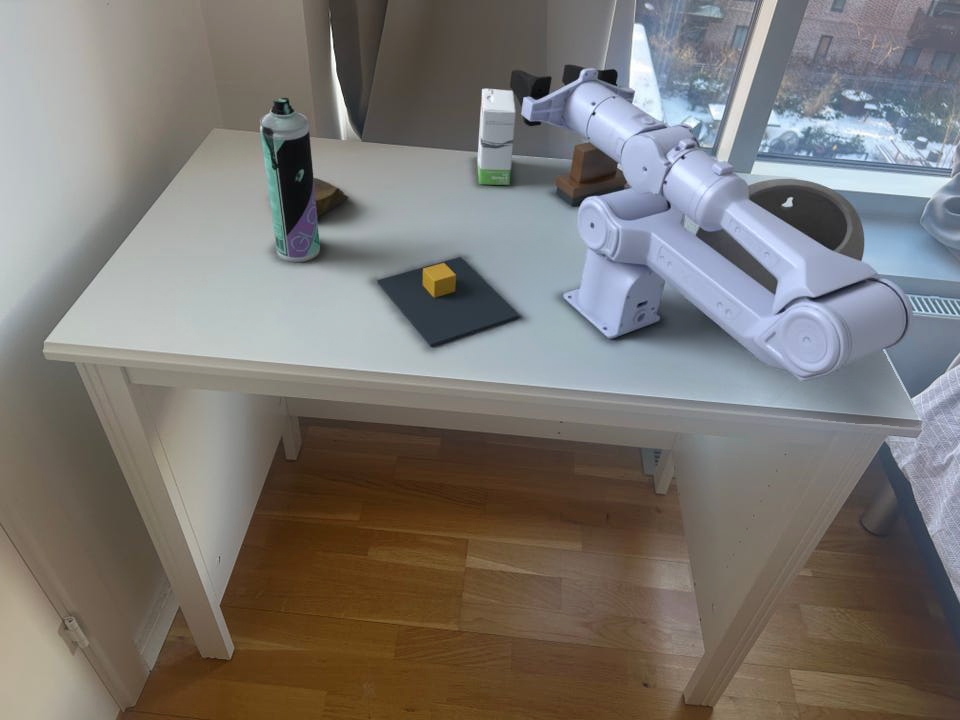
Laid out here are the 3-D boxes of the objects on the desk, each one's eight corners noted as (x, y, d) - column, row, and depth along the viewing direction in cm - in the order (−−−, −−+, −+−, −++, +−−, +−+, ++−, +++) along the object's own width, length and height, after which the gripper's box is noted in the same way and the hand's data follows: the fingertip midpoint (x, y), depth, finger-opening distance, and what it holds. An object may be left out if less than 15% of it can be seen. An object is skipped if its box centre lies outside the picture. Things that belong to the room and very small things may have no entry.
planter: (673, 324, 90) (715, 182, 77) (674, 291, 95) (713, 154, 83) (831, 351, 87) (900, 210, 75) (823, 316, 93) (886, 179, 80)
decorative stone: (262, 197, 106) (259, 175, 104) (318, 179, 111) (316, 157, 109) (301, 228, 101) (298, 205, 98) (358, 208, 106) (357, 185, 103)
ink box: (510, 186, 113) (517, 111, 106) (477, 185, 113) (482, 109, 105) (507, 161, 120) (513, 88, 112) (476, 159, 120) (481, 87, 112)
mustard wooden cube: (455, 291, 91) (456, 274, 89) (434, 298, 90) (434, 281, 88) (443, 279, 93) (444, 262, 91) (422, 285, 92) (422, 268, 90)
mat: (519, 317, 89) (519, 314, 88) (430, 347, 83) (430, 344, 83) (460, 259, 97) (460, 256, 97) (377, 282, 92) (377, 280, 92)
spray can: (310, 265, 94) (295, 112, 81) (270, 258, 95) (247, 105, 82) (326, 243, 98) (313, 94, 85) (286, 236, 99) (268, 87, 86)
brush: (607, 180, 117) (616, 132, 112) (625, 192, 114) (635, 143, 109) (553, 194, 112) (560, 144, 107) (571, 207, 110) (579, 156, 104)
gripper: (667, 79, 82) (594, 37, 90) (560, 92, 75) (492, 45, 84) (650, 139, 86) (582, 94, 95) (549, 156, 80) (485, 106, 88)
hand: (539, 75), depth 90 cm, fingers open, 7 cm apart
